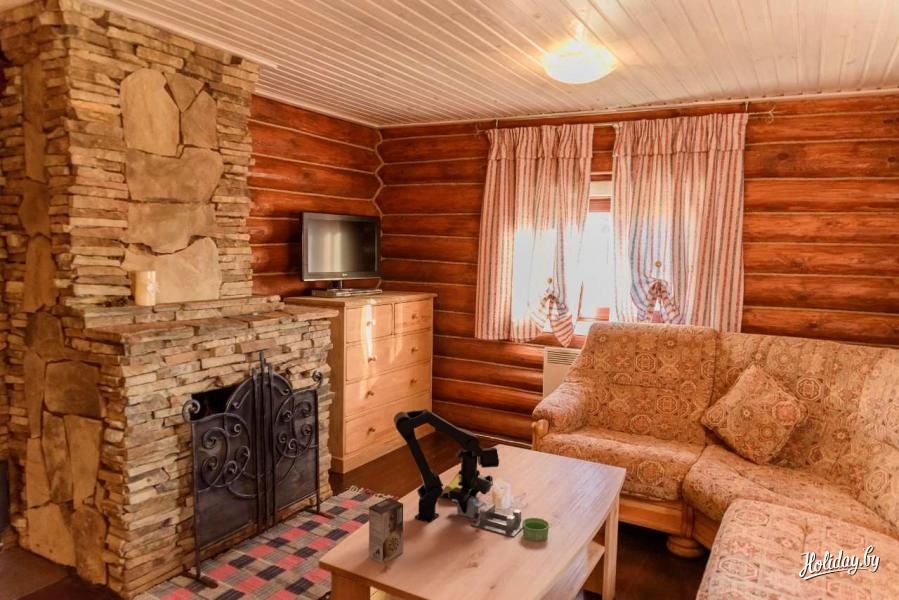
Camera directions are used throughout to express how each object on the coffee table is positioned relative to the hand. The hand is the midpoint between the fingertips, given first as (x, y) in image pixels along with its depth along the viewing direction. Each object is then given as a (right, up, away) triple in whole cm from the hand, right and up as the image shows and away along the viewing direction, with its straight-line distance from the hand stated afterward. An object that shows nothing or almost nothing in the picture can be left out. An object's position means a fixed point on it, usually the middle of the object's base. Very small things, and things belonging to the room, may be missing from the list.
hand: (467, 510), depth 219 cm
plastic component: (-2, 0, +19) cm, 19 cm away
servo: (0, -1, 0) cm, 1 cm away
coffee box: (-26, -4, -30) cm, 40 cm away
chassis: (+11, -2, -7) cm, 13 cm away
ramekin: (+22, -4, -15) cm, 27 cm away
